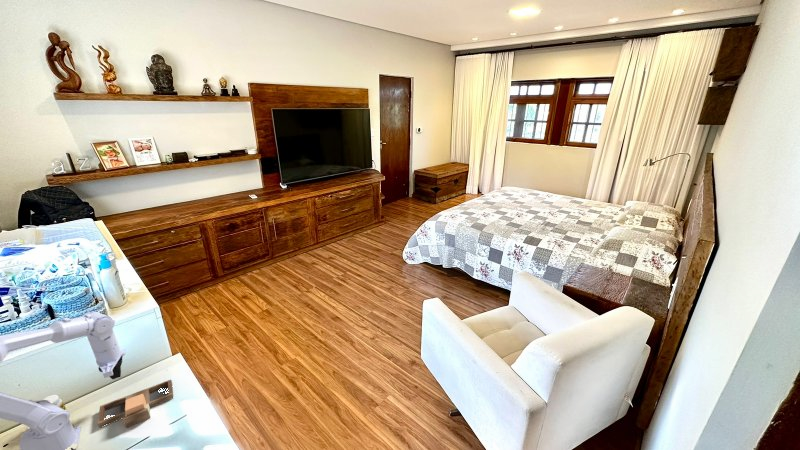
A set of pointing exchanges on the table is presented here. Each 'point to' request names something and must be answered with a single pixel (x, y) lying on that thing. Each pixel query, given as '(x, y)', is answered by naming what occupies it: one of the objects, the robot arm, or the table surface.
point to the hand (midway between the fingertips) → (116, 376)
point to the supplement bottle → (56, 401)
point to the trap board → (151, 400)
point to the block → (135, 404)
